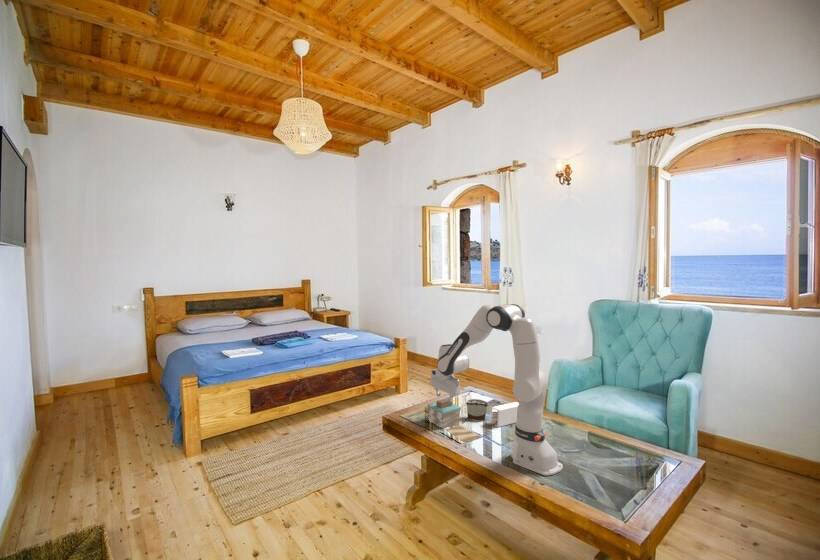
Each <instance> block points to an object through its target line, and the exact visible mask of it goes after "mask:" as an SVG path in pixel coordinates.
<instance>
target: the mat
mask: <svg viewBox="0 0 820 560" xmlns="http://www.w3.org/2000/svg"><path fill="white" fill-rule="evenodd" d="M445 430H446V431H447V432H449V433H451V434H452V435H454V436H455V437H458V439H460V440H461V441H463V442H467V443H469V441H470V442H472V441H475V440H478V439H481V438H482V436H481V435H479V434H477V433H475V432H473V431H471V430H469V429H468V428H465V427H463V426H462V425H455V426H452V427H448V428H445Z"/></svg>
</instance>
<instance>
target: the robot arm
mask: <svg viewBox="0 0 820 560" xmlns="http://www.w3.org/2000/svg"><path fill="white" fill-rule="evenodd" d="M493 329H496V330H498V331H499V330H500V331H503V332H508V331H509V332H510V333H511V338H512V339H511V340H512V346H513V355H514V381H513V387H512V392H513V395H514V397H515V398H516V399H517V400H518V401H519V402H518V403H519V405H518V408H517V422H516V424H515V426H514V434H515V435H514V444H513V447H512V451H511V454H510V457H511V458H512V463H513V464H515V465H517V466H520V467H522V468H524V469H527V470H530V471H532V472H534V473H537V474H539V475H542V476H553V475H555V474H559V473H560V472H561V471H562V470H563V469H564V467H563V463H561V462H559V461H558V453H557V452H556V450H555V449H554V447H552V445H551V444H549V442H548V441H547V440H546V436H547V434H548V433H547V432H546V433H544V429H543V413H544V407H545V403H546V397H547V391H548V390H547V389H548V385H549V378H548V376H547V374H546V373H545V372H544V371H542V370H540V363H541V355H540V354H541V353H540V347H539V346H540V345H539V341H538V335H537V330H536V327H535V324H534V322H533V320H532V319H530V318H528V317H526V313H525V310H524V309H523V307H522V306H520V305H519V304H517V303H516V304H514V303H511V304H501V305H495V306H492V305H490V304H484V305H482V306H481V307H480V308H479V309H478V310H477V312H476V313H475V314H474V316H473V317H472V319H471V320H470V322H469V323H468V325H467V326H466V327H465V328H464V329H463V331H462V332H461V333H460V334H459V335H458V337H456V338H455V340H454V342H453V343H451V344H450V343H449V344H448V343H447V344H442V345H441V346H439V349H438V356H437V368H434V369H432V370H430V373H431V375H430V386H431V387H433V388H434V390H435V393H436V397H441V392H440V390H441V391H442V392H444V393H446V394H449V397H447V398H448V401H449V402H452V403H453V398H454V397H456V396H459V395H460V393H461V390H460V389H461V387H460V380H459V379H458V378H457V377H455V374H458V373H461V372H466V371H467V370H468V369H469V367H470V359H469V357H468V355H466V354H465V353H463V352H464V351H465V350H466V349H467V348H469V347H471V346H474V345H476V344H479V343H482V342H483V341H485V340H486V339H488V337H489V335H490V334H491V332H492V330H493Z"/></svg>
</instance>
